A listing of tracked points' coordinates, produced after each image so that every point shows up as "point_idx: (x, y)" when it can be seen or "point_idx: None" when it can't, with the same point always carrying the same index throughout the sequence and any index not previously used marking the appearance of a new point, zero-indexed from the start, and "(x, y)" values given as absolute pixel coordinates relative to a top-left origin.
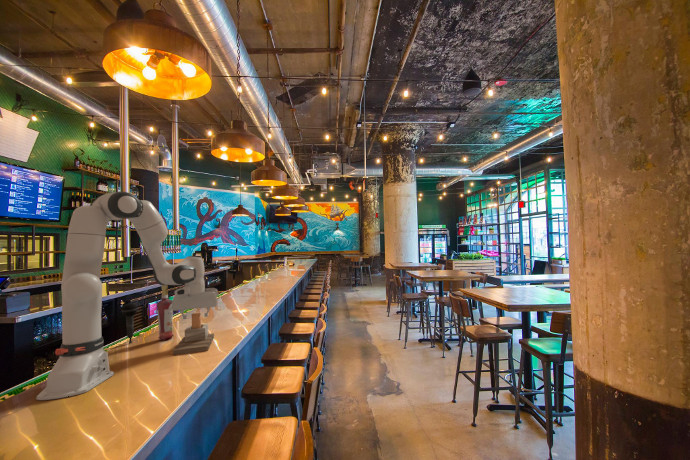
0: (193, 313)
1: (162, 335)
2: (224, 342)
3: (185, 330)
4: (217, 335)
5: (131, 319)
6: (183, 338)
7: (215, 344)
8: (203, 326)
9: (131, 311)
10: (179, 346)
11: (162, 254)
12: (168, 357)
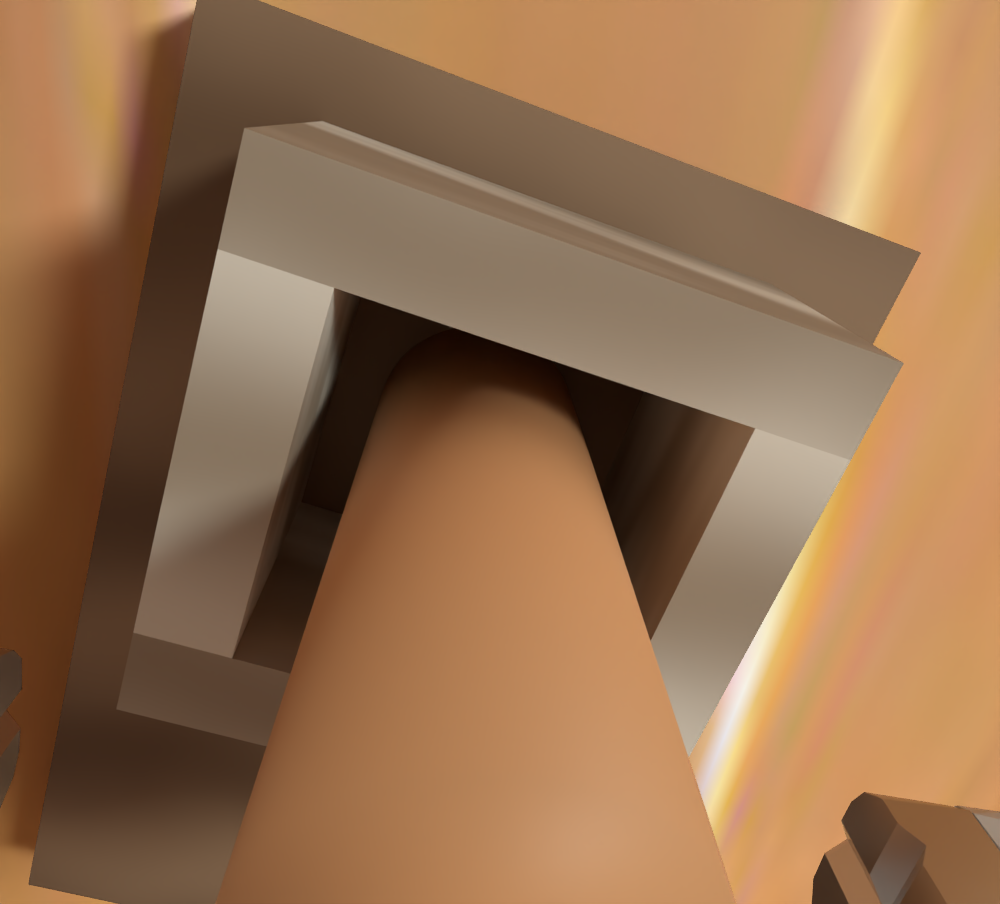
0: (337, 875)
1: None
2: (852, 732)
3: (145, 713)
4: (992, 130)
5: None
6: (188, 172)
7: (705, 737)
8: (659, 654)
9: None
10: (121, 744)
11: None
12: (9, 862)
